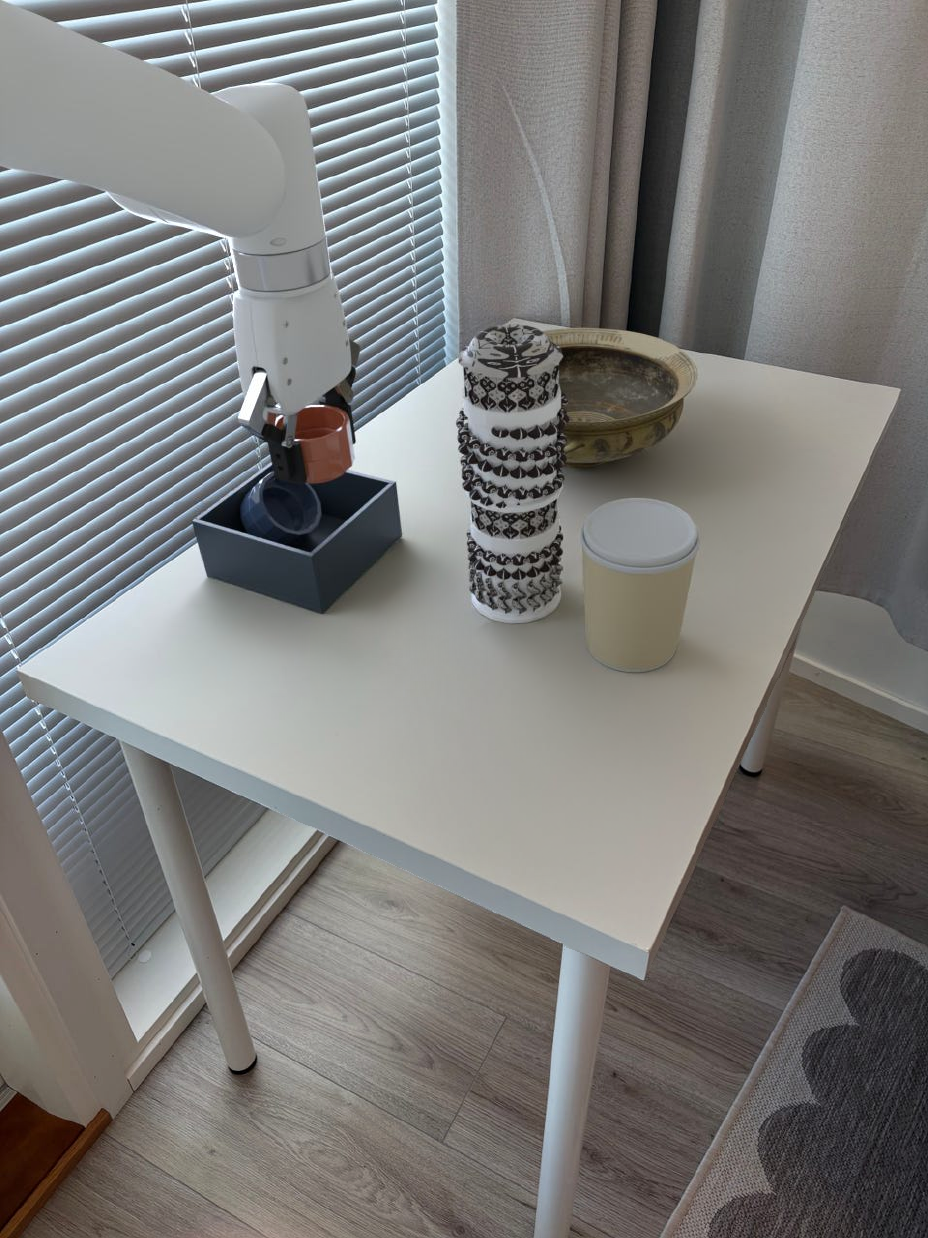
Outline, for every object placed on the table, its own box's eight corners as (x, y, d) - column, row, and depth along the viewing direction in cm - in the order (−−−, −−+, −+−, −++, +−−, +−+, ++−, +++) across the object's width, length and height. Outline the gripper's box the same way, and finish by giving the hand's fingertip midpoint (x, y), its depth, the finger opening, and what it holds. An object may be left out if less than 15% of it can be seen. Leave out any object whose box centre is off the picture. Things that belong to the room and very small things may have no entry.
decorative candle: (583, 582, 89) (591, 323, 73) (535, 638, 83) (533, 370, 68) (499, 556, 93) (490, 305, 78) (448, 607, 87) (427, 347, 72)
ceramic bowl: (653, 538, 94) (660, 449, 88) (433, 499, 102) (426, 415, 96) (712, 406, 115) (722, 326, 109) (527, 382, 123) (526, 306, 117)
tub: (322, 614, 88) (311, 556, 83) (206, 576, 93) (191, 520, 89) (402, 536, 97) (396, 481, 93) (292, 506, 103) (282, 453, 98)
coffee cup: (705, 633, 83) (721, 516, 75) (654, 695, 77) (666, 575, 69) (611, 597, 87) (617, 484, 80) (556, 653, 82) (557, 537, 74)
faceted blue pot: (239, 546, 92) (260, 527, 89) (236, 484, 95) (257, 463, 91) (301, 557, 96) (323, 539, 93) (296, 497, 99) (318, 478, 96)
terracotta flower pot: (286, 492, 84) (277, 447, 81) (275, 456, 89) (266, 413, 86) (361, 477, 85) (355, 432, 82) (346, 443, 90) (340, 399, 87)
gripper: (309, 226, 83) (337, 412, 94) (171, 295, 71) (222, 498, 82) (381, 234, 79) (401, 427, 91) (249, 308, 68) (291, 518, 79)
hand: (316, 459), depth 86 cm, fingers closed on terracotta flower pot, 6 cm apart
